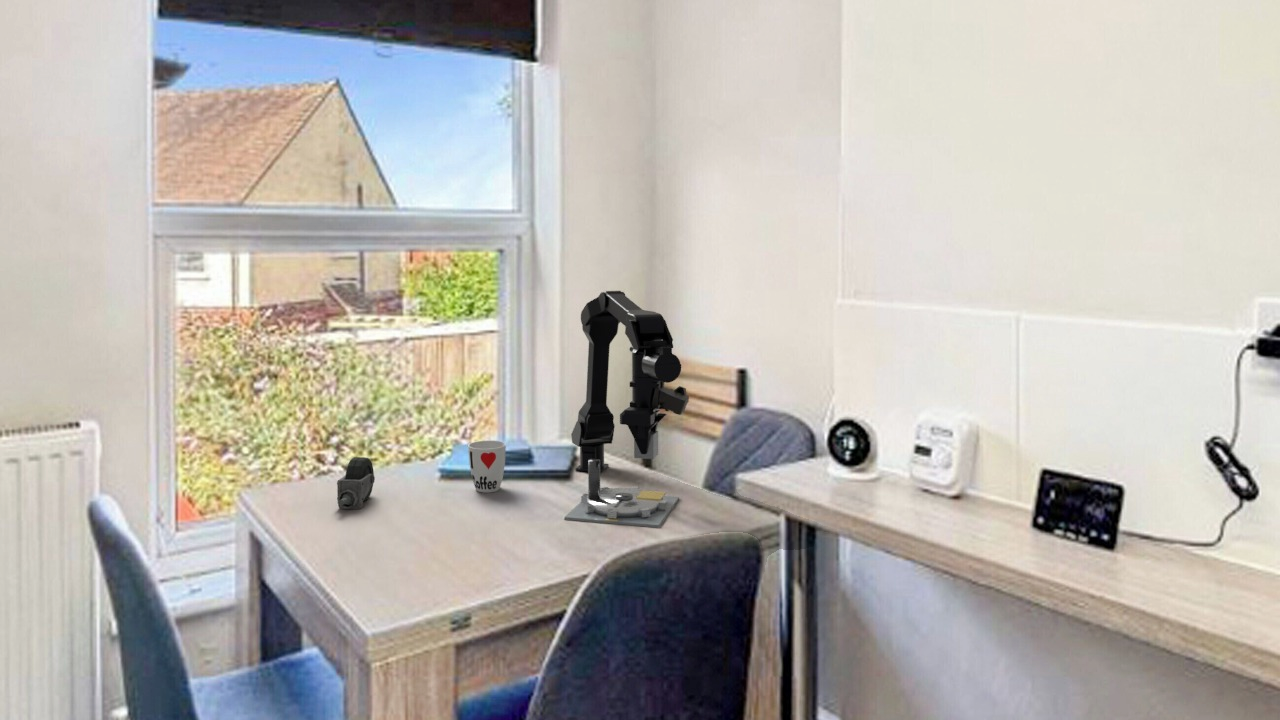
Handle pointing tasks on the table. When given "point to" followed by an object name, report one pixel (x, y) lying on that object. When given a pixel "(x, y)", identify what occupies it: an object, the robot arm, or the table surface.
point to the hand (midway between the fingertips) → (646, 451)
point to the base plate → (650, 521)
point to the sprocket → (619, 497)
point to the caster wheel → (355, 484)
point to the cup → (487, 464)
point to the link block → (652, 447)
